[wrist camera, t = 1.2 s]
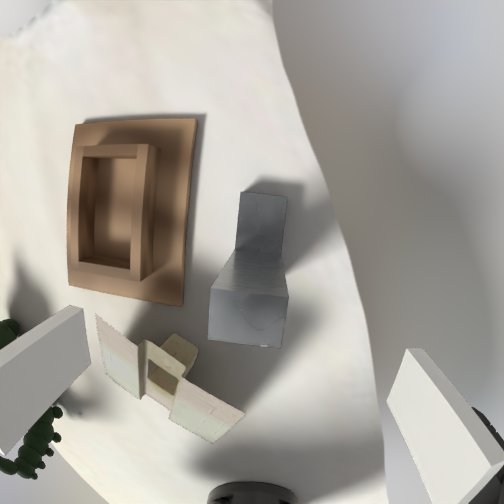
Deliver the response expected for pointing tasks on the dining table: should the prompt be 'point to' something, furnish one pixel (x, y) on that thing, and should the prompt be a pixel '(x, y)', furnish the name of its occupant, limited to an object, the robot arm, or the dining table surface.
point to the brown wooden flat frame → (130, 207)
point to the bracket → (252, 277)
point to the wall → (165, 380)
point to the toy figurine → (38, 433)
